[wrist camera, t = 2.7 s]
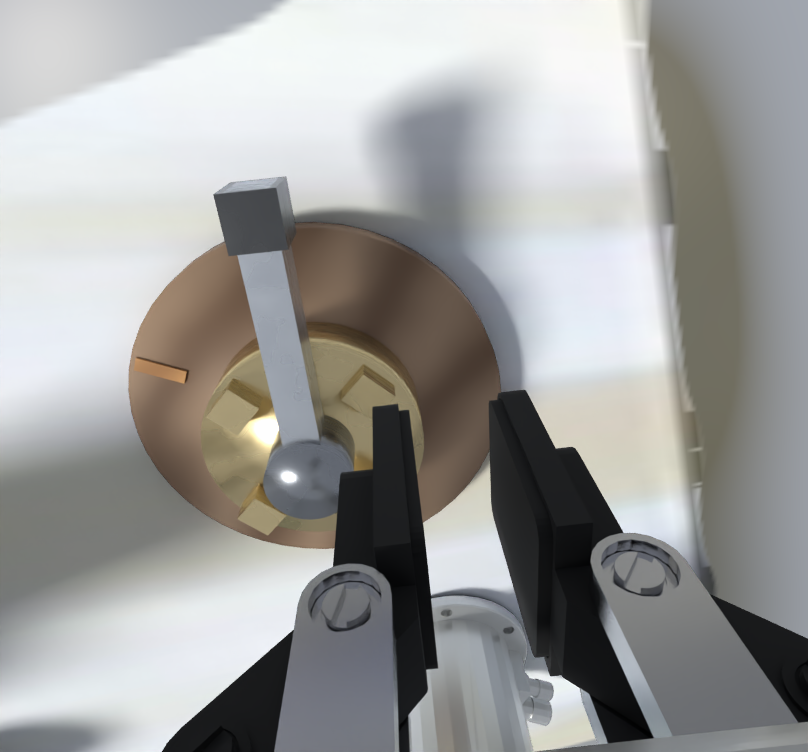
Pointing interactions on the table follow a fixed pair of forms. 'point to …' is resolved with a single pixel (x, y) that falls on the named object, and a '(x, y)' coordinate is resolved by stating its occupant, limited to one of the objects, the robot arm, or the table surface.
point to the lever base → (322, 302)
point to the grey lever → (292, 382)
